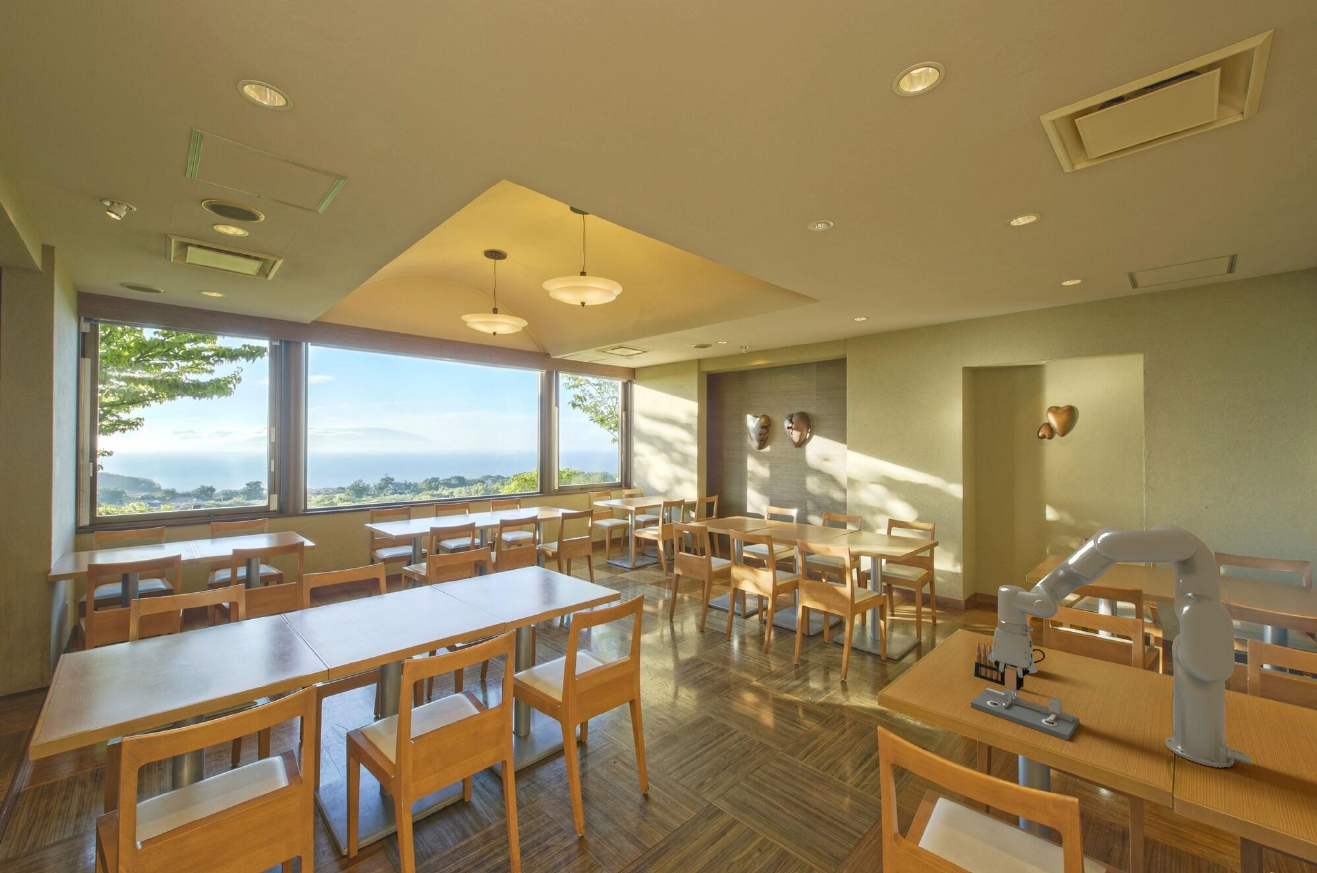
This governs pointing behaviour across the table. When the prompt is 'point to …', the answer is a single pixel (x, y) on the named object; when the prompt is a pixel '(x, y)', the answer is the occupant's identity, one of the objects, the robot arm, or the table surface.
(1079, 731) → the table surface
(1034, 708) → the grey slotted base plate
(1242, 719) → the table surface
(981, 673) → the ammunition clip
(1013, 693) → the sliding leg
